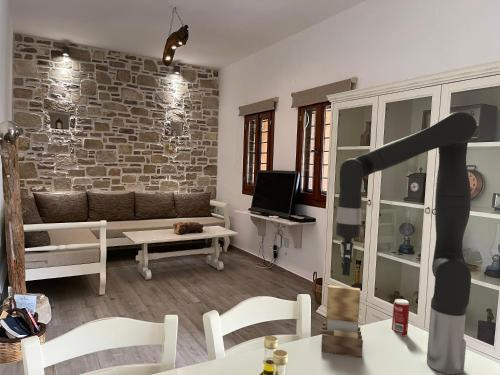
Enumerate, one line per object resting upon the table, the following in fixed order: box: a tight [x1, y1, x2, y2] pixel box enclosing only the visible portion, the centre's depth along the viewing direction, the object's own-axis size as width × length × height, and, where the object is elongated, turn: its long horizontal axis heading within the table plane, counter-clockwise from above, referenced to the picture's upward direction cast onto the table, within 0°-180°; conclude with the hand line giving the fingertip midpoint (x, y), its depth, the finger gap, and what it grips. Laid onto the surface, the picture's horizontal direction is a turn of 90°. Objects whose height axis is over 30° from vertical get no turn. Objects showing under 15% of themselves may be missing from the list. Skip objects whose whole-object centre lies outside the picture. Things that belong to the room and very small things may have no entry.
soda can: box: [391, 298, 410, 338], centre depth 133 cm, size 5×5×12 cm
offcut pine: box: [334, 330, 358, 339], centre depth 115 cm, size 7×2×6 cm, turn 78°
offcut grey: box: [327, 319, 357, 333], centre depth 118 cm, size 9×2×8 cm, turn 78°
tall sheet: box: [325, 284, 361, 331], centre depth 121 cm, size 10×2×18 cm, turn 78°
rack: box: [320, 321, 364, 359], centre depth 118 cm, size 12×11×6 cm
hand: (345, 271), depth 120 cm, fingers open, 8 cm apart
